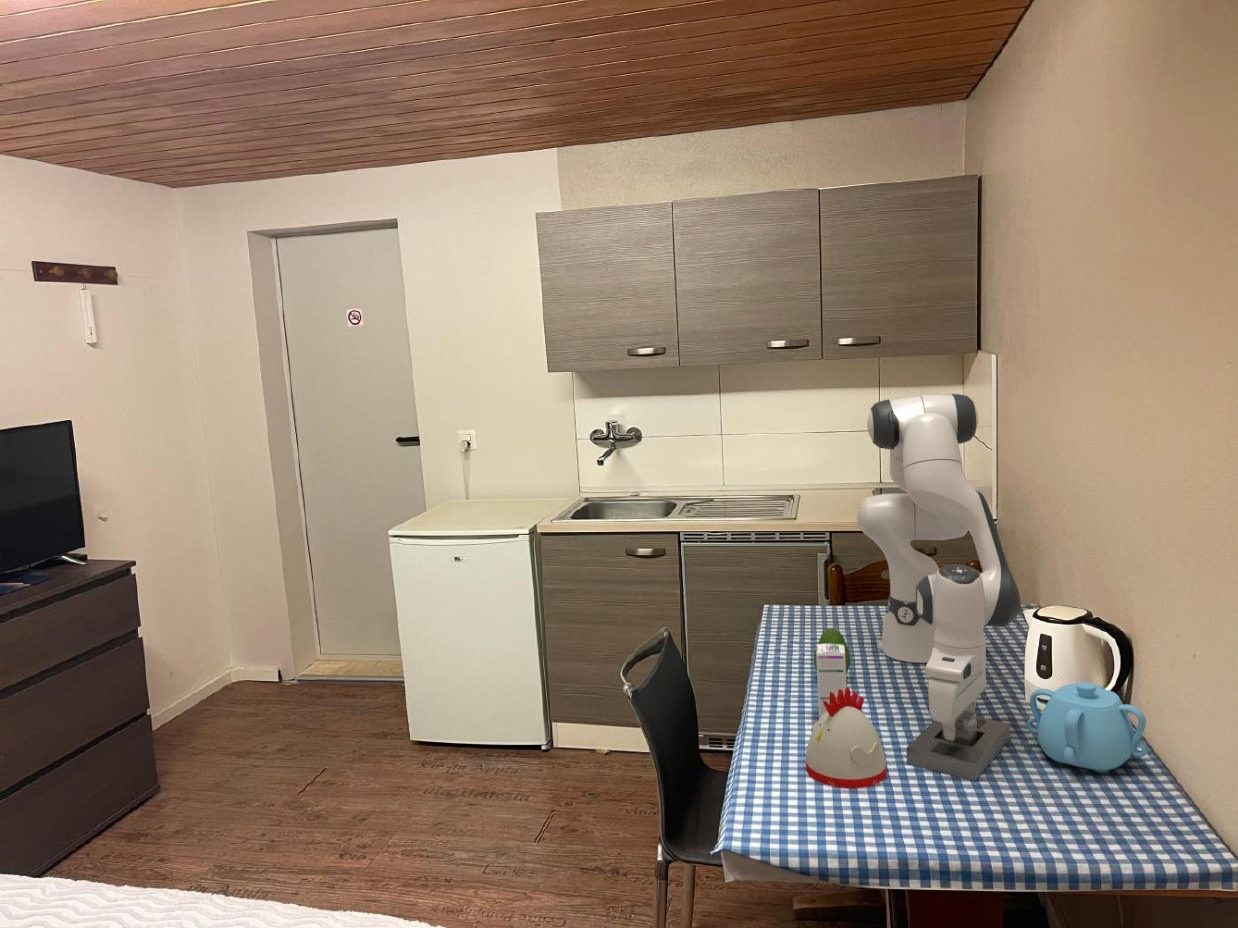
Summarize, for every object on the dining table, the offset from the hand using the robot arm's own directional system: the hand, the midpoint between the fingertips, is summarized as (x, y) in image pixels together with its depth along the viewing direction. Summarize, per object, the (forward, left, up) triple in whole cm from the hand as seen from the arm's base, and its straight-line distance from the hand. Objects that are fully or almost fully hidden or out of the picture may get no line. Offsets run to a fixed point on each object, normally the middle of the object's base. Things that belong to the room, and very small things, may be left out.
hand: (959, 729), depth 165 cm
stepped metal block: (0, 0, -4) cm, 4 cm away
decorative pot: (-9, +19, -4) cm, 21 cm away
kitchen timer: (+18, -14, -4) cm, 23 cm away
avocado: (-21, -35, -4) cm, 41 cm away
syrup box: (-2, -26, -4) cm, 26 cm away
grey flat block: (0, 0, -4) cm, 4 cm away
